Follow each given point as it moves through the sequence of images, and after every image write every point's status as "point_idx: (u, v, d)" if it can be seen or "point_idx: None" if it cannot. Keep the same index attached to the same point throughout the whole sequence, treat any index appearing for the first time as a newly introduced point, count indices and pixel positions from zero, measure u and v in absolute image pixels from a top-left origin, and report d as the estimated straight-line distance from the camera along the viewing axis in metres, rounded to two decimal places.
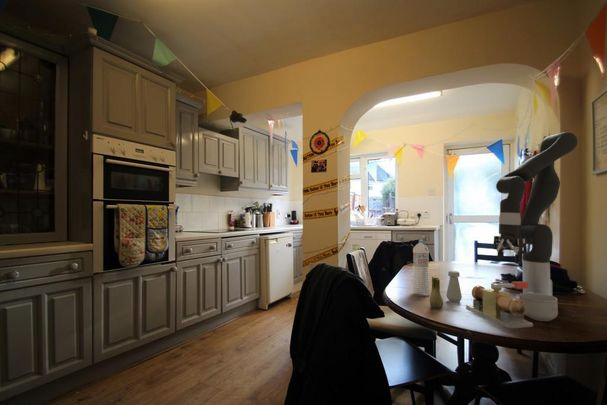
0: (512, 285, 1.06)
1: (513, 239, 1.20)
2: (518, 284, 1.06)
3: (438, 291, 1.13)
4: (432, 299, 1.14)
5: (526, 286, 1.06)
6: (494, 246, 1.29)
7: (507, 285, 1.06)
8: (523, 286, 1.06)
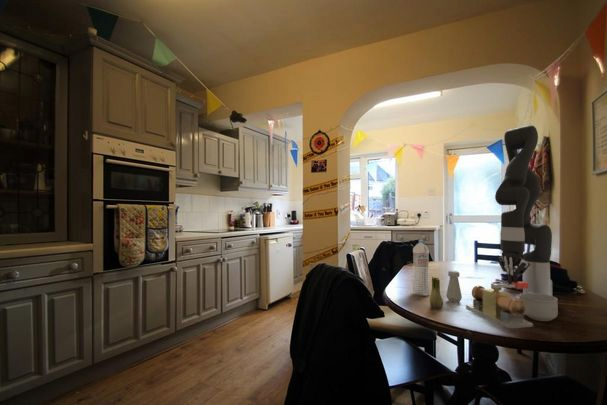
0: (512, 285, 1.06)
1: (517, 257, 1.07)
2: (518, 284, 1.06)
3: (438, 291, 1.13)
4: (432, 299, 1.14)
5: (526, 286, 1.06)
6: (503, 268, 1.13)
7: (507, 285, 1.06)
8: (523, 286, 1.06)
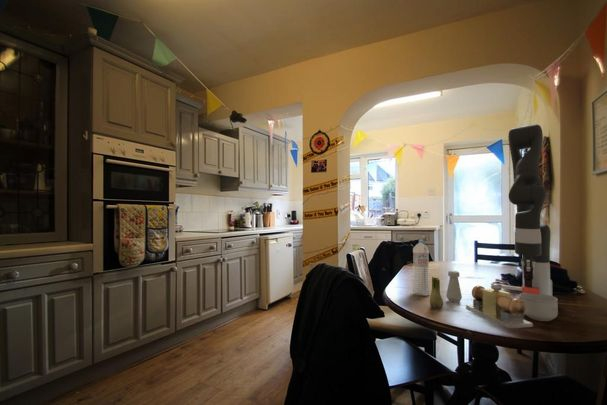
0: (516, 288, 1.02)
1: (524, 260, 1.01)
2: (524, 288, 1.00)
3: (438, 291, 1.13)
4: (432, 299, 1.14)
5: (536, 292, 0.98)
6: (523, 272, 1.06)
7: (509, 287, 1.03)
8: (532, 291, 0.99)
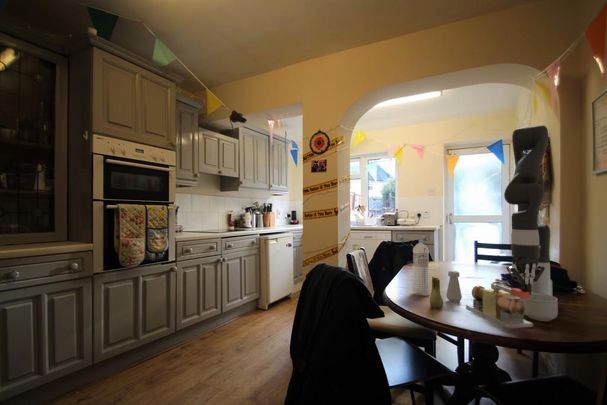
0: (508, 290, 1.00)
1: None
2: (512, 290, 0.98)
3: (438, 291, 1.13)
4: (432, 299, 1.14)
5: (521, 295, 0.94)
6: None
7: (503, 288, 1.02)
8: (518, 294, 0.96)
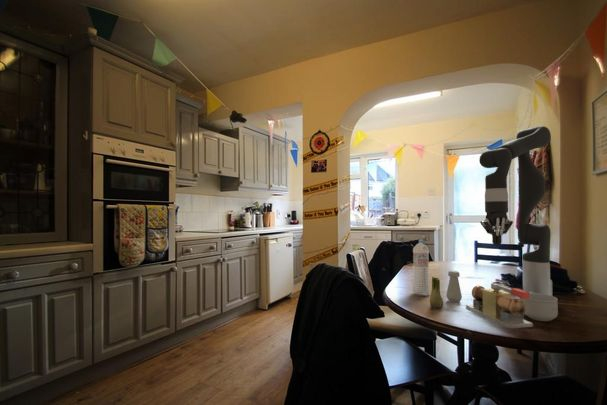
0: (508, 290, 1.00)
1: None
2: (512, 290, 0.98)
3: (438, 291, 1.13)
4: (432, 299, 1.14)
5: (521, 295, 0.94)
6: None
7: (503, 288, 1.02)
8: (518, 294, 0.96)
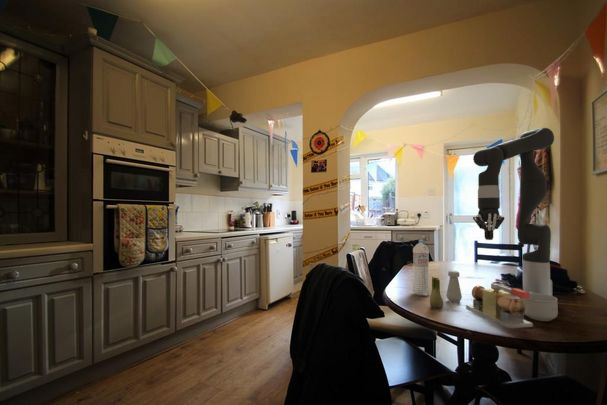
0: (508, 290, 1.00)
1: None
2: (512, 290, 0.98)
3: (438, 291, 1.13)
4: (432, 299, 1.14)
5: (521, 295, 0.94)
6: None
7: (503, 288, 1.02)
8: (518, 294, 0.96)
